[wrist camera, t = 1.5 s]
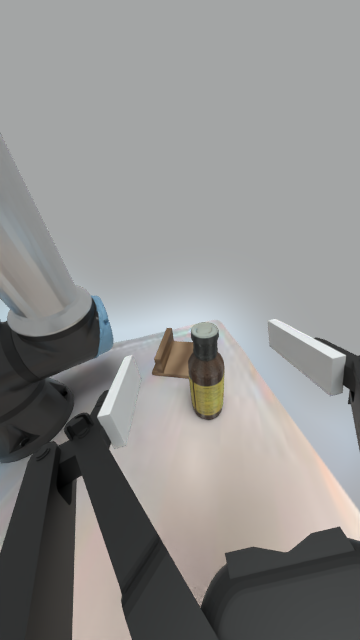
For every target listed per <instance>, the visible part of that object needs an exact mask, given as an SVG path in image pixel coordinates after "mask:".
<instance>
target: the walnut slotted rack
mask: <svg viewBox="0 0 360 640" xmlns="http://www.w3.org/2000/svg"><path fill="white" fill-rule="evenodd" d="M192 353H193V342H177V341H174V339H173V333H172V328H167V329H166V331H165V334H164V336H163V339H162V341H161V344H160V346H159V349H158V351H157V353H156V356H155V358H154V360H155V366H154V369H153V371H152V374H153V375H158V376H168V377H178V378H188V379H189V373H188V371H189V369H188V360H189V357H190V356H191V354H192Z"/></svg>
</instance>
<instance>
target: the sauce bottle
mask: <svg viewBox="0 0 360 640" xmlns="http://www.w3.org/2000/svg"><path fill="white" fill-rule="evenodd" d="M218 337H219V333H218V328H217V327H216V326H215V325H214V324H212V323H206V322H202V323H198V324H196V325H194V326H193V327H192V329H191V339H192V341H193V353H192V354H191V356H190V357H189V360H188V369H189V371H188V373H189V381H190V390H191V398H192V404H193V408H194V410H195V412H196V414H197V415H198V416H199V417H201V418H204V419H213V418H215V417H217V416H218V415H219V413H220V412H221V410H222V405H223V393H224V362H223V359H222V357H221V355H220V354H219V353H218V352H217V351H218V348H217V340H218Z"/></svg>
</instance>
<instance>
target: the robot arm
mask: <svg viewBox="0 0 360 640" xmlns="http://www.w3.org/2000/svg"><path fill="white" fill-rule="evenodd" d="M0 299H1V300H2V301H3V302H4V303H5V304H6V305H7V306H8V307H9V308H10V311H9V312H8V316H7V321H6V322H0V462H3V463H5V462H13V461H17V460H19V459H22V458H24V457H27V456H29V455H30V454H32V453H34V454H33V455H32V456H31V457H30V460H29V462H28V464H27V468H26V471H25V474H24V477H23V481H22V484H21V487H20V491H19V494H18V497H17V500H16V504H15V507H14V510H13V513H12V517H11V520H10V523H9V526H8V530H7V533H6V536H5V540H4V543H3V546H2V549H1V553H0V640H72V618H73V584H74V550H75V516H76V482H77V478H78V477H80V476H83V479H84V482H85V485H86V488H87V491H88V494H89V497H90V500H91V503H92V506H93V509H94V512H95V515H96V518H97V521H98V524H99V527H100V530H101V533H102V536H103V538H104V541H105V544H106V547H107V550H108V553H109V556H110V559H111V562H112V565H113V568H114V571H115V574H116V577H117V580H118V583H119V586H120V589H121V593H122V599H121V603H122V608H123V612H124V615H125V619H126V622H127V625H128V628H129V631H130V635H131V638H132V640H360V541H357V540H354V539H350V538H347V537H346V535H345V534H344V532H343V531H342V529H341V528H340V527H336V528H332V529H328V530H323V531H319V532H315V533H311V534H310V535H309V536H307V537H306V538H305V539H304V540H303V541H301V542H300V543H299V544H298V545H297V546H295V547H294V548H293V549H292V550H290V551H289V552H279V551H273V550H268V549H262V548H257V547H250V548H246V549H241V550H237V551H233V552H228V553H225V556H226V561H227V564H226V565H225V566H223V567H222V568H221V569H220V570H219V571H218V573H217V574H216V575H215V577H214V578H213V580H212V581H211V583H210V585H209V587H208V589H207V591H206V594H205V596H204V599H203V602H202V605H201V608H200V606H199V605H198V603H197V601H196V599H195V598H194V596H193V594H192V593H191V591H190V589H189V587H188V586H187V584H186V582H185V580H184V579H183V577H182V575H181V573H180V572H179V570H178V568H177V566H176V565H175V563H174V561H173V560H172V558H171V556H170V554H169V553H168V551H167V549H166V547H165V546H164V544H163V542H162V541H161V539H160V537H159V535H158V534H157V532H156V530H155V529H154V527H153V525H152V523H151V522H150V520H149V518H148V516H147V515H146V513H145V511H144V509H143V508H142V506H141V504H140V502H139V501H138V499H137V497H136V496H135V494H134V492H133V490H132V489H131V487H130V485H129V483H128V482H127V480H126V478H125V476H124V475H123V473H122V471H121V469H120V468H119V466H118V464H117V463H116V461H115V459H114V457H113V456H112V454H111V452H110V450H109V447H110V444H112V445H113V447H114V449H116V448H120V447H124V446H126V444H127V440H128V435H129V431H130V427H131V422H132V418H133V414H134V409H135V405H136V401H137V396H138V392H139V388H140V383H141V379H142V378H141V375H140V373H139V370H138V368H137V365H136V363H135V360H134V357H133V355H130V356H126V357H124V360H123V362H122V364H121V366H120V368H119V371H118V373H117V375H116V377H115V379H114V381H113V384H112V386H111V388H110V390H107V391H104V392H103V394H102V395H101V396H100V397H99V399H98V401H97V403H96V405H95V408H94V409H93V411H92V413H91V415H89V414H88V413H81V414H78V415H77V416H75V417H74V418H72V419H71V420H70V421H69V422H68V423H67V424H66V426H65V428H64V432H65V434H66V435H67V437H68V438H69V441H67V442H65V443H63V444H61V445H59V446H58V445H57V444H56V443H55V442H54V441H53V442H49V441H50V440H51V439H52V438H53V437H54V436H55V435H56V434H57V433H58V432H59V431H60V430H61V428H62V427H63V426H64V424H65V423H66V421H67V420H68V418H69V416H70V414H71V412H72V409H73V404H74V398H73V394H72V393H71V391H70V390H69V389H68V388H67V386H65V385H64V384H62V383H60V382H58V381H56V380H54V379H51V378H49V377H50V376H52V375H55V374H57V373H60V372H62V371H64V370H67V369H69V368H72V367H74V366H77V365H79V364H81V363H84V362H86V361H89V360H91V359H93V358H97V357H98V356H99V355H101V354H103V353H105V352H107V351H109V350H110V349H111V348H112V346H113V335H112V330H111V326H110V323H109V320H108V316H107V312H106V310H105V307H104V305H103V303H102V301H101V299H100V297H98V296H91V295H90V294H89V292H88V291H87V290H86V289H84V288H83V287H81V286H78V285H75V284H74V282H73V280H72V278H71V276H70V274H69V272H68V270H67V268H66V266H65V264H64V262H63V260H62V258H61V256H60V254H59V252H58V250H57V248H56V246H55V243H54V242H53V239H52V237H51V235H50V233H49V231H48V229H47V227H46V225H45V223H44V221H43V219H42V217H41V215H40V213H39V211H38V209H37V207H36V205H35V203H34V201H33V199H32V197H31V194H30V192H29V190H28V188H27V186H26V184H25V182H24V181H23V178H22V176H21V174H20V172H19V170H18V168H17V166H16V164H15V162H14V160H13V158H12V156H11V154H10V152H9V150H8V148H7V145H6V144H5V141H4V140H3V137H2V135H1V133H0ZM268 331H269V344H270V347H271V348H272V349H274V350H275V351H276V352H277V353H279V354H280V355H281V356H282V357H283V358H285V359H286V360H287V361H288V362H289V363H291V364H292V365H293V366H294V367H296V368H297V369H298V370H299V371H301V372H302V373H303V374H304V375H305V376H306V377H308V378H309V379H310V380H312V381H313V382H314V383H315V384H316V385H317V386H319V387H320V388H321V389H322V390H324V391H325V392H326V393H327V394H328V395H330V396H333V395H337V394H341V393H343V385H344V386H345V387H347V388H349V389H350V391H349V400H348V404H351V407H352V412H353V418H354V423H355V428H356V434H357V439H358V444H359V450H360V356H356V355H354V354H352V353H350V352H348V351H346V350H344V349H342V348H340V347H337V346H336V345H334V344H332V343H330V342H328V341H326V340H323V339H320V338H312V337H310V336H308V335H306V334H304V333H302V332H300V331H298V330H296V329H294V328H293V327H291V326H289V325H287V324H285V323H283V322H281V321H279V320H277V319H273V320H269V321H268ZM48 442H49V443H48ZM35 451H36V452H35Z"/></svg>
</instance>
